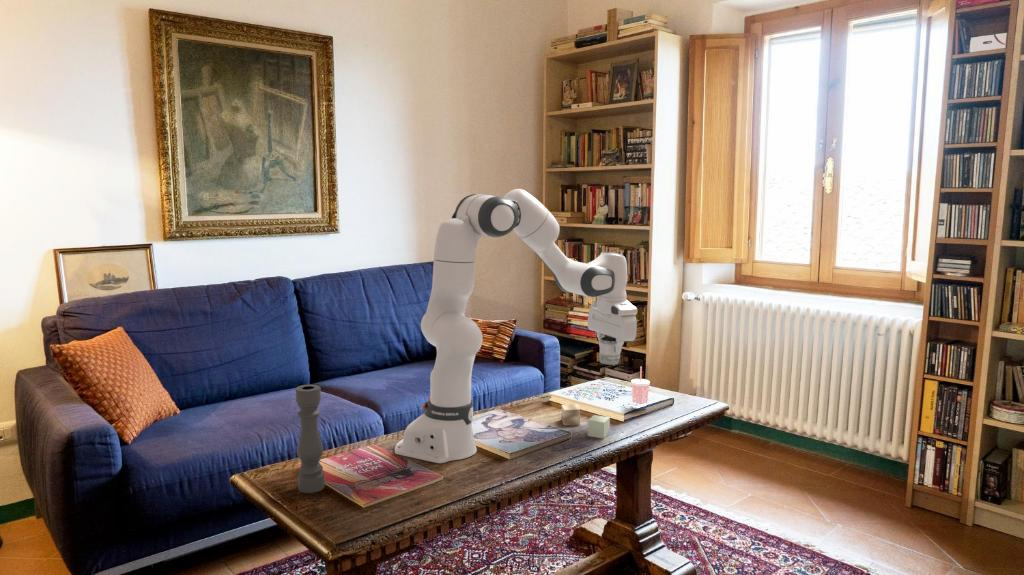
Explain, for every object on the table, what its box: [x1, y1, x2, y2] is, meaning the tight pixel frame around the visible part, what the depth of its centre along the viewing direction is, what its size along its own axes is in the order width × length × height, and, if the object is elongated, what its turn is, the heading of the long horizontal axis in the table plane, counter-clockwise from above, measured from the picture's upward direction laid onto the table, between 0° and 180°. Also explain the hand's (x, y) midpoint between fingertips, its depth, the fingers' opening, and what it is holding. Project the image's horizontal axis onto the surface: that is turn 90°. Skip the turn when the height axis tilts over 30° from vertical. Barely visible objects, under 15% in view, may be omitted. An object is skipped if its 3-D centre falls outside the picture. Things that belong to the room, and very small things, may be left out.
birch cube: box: [560, 403, 581, 426], centre depth 223 cm, size 5×5×5 cm
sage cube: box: [587, 414, 611, 439], centre depth 213 cm, size 5×5×5 cm
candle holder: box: [295, 384, 326, 494], centre depth 173 cm, size 6×6×25 cm
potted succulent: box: [598, 335, 621, 366], centre depth 221 cm, size 6×6×8 cm
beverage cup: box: [630, 366, 651, 404], centre depth 237 cm, size 6×6×14 cm
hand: (610, 349), depth 220 cm, fingers closed on potted succulent, 6 cm apart
